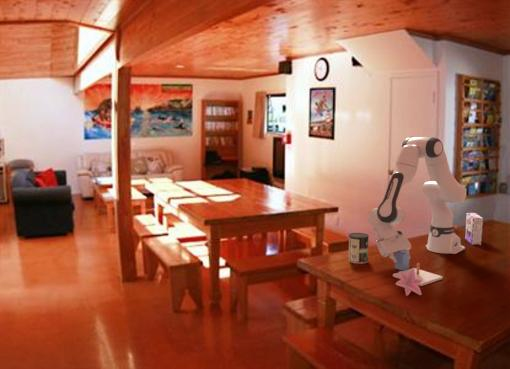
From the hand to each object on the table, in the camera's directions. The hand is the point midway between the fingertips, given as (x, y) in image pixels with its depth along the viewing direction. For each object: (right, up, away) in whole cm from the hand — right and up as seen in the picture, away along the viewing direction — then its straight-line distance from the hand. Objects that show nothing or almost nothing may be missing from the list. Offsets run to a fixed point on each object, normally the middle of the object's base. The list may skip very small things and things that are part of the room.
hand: (403, 260), depth 244 cm
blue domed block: (0, -4, +1) cm, 5 cm away
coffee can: (-19, -3, +14) cm, 24 cm away
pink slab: (+3, -6, -12) cm, 14 cm away
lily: (-7, -10, -31) cm, 33 cm away
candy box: (+57, +3, +49) cm, 76 cm away
